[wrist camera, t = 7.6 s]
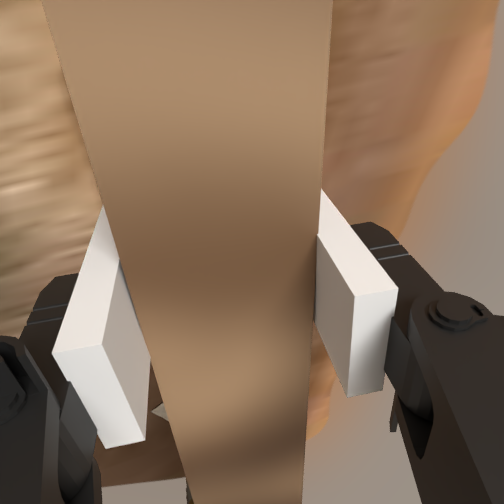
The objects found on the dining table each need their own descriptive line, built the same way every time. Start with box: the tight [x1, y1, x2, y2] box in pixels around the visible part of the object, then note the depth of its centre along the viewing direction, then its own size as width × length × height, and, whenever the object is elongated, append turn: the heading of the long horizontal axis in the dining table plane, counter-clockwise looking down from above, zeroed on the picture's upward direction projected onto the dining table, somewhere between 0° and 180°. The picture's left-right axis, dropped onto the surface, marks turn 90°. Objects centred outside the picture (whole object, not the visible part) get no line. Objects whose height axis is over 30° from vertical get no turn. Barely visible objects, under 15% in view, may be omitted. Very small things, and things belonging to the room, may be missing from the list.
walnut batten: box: [41, 0, 333, 504], centre depth 14 cm, size 24×4×5 cm, turn 3°
